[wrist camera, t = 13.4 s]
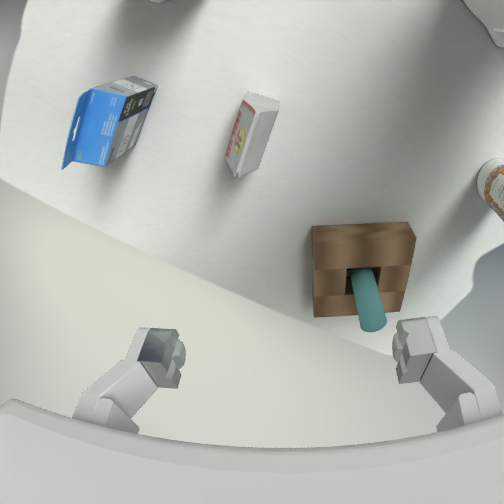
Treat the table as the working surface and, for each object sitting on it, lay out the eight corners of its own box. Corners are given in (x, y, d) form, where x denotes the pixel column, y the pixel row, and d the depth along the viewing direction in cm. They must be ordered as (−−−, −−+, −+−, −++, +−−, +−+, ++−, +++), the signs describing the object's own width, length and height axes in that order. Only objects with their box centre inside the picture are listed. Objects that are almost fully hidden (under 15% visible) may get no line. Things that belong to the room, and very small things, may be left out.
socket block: (407, 222, 42) (416, 237, 39) (394, 294, 50) (399, 311, 47) (311, 226, 44) (313, 242, 41) (312, 299, 52) (314, 317, 49)
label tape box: (135, 145, 39) (89, 185, 29) (110, 134, 38) (59, 170, 28) (159, 85, 34) (112, 105, 24) (131, 74, 33) (77, 91, 23)
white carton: (279, 101, 34) (278, 119, 26) (261, 151, 38) (255, 184, 30) (248, 91, 34) (237, 106, 26) (232, 142, 38) (217, 173, 30)
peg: (370, 253, 46) (388, 313, 36) (368, 271, 48) (384, 331, 38) (348, 254, 46) (362, 315, 37) (347, 272, 48) (358, 333, 39)
